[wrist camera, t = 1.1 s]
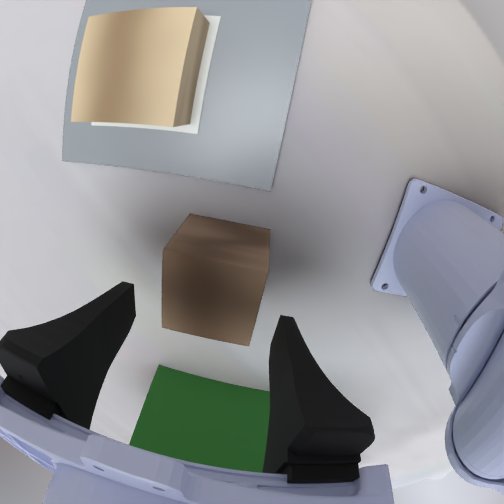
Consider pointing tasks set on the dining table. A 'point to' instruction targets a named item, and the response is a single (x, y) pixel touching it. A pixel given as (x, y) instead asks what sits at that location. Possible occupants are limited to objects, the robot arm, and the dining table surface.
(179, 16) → the oak block
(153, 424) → the hardback book
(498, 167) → the dining table surface
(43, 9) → the dining table surface
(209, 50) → the build plate
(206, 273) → the walnut cube
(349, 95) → the dining table surface
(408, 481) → the dining table surface
